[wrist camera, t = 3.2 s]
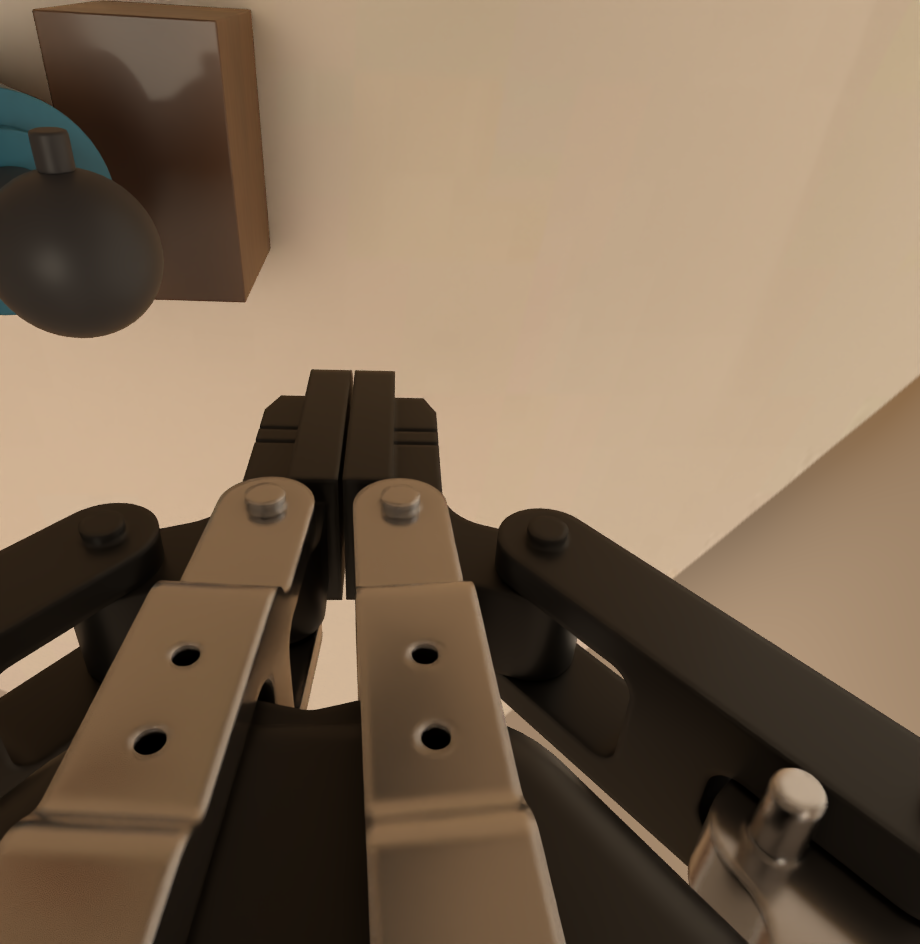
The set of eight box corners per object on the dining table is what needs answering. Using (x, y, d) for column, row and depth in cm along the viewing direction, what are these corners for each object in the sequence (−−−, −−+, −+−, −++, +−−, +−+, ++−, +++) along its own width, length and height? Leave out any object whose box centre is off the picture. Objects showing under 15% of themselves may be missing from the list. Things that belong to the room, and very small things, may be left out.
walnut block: (143, 244, 36) (94, 298, 31) (101, 0, 31) (31, 8, 25) (270, 249, 37) (245, 303, 31) (251, 9, 31) (216, 20, 26)
